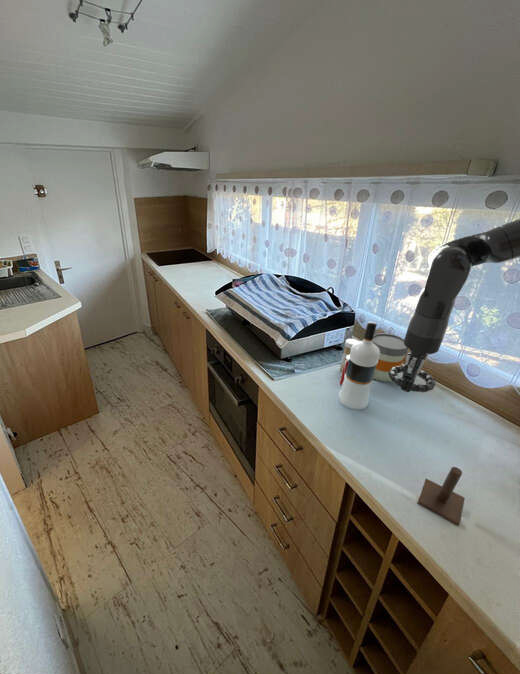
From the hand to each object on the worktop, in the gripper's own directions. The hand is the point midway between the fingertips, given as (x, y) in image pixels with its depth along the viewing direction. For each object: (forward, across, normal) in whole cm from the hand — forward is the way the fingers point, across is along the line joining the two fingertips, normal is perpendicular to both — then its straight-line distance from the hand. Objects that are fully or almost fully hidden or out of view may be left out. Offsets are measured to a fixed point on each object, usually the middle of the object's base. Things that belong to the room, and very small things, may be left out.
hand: (406, 387), depth 81 cm
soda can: (+18, +16, +19) cm, 31 cm away
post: (+18, -14, -15) cm, 27 cm away
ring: (-1, +4, 0) cm, 4 cm away
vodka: (+18, +8, +14) cm, 25 cm away
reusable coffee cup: (+18, +31, +12) cm, 38 cm away
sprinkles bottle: (+18, +25, +23) cm, 39 cm away
